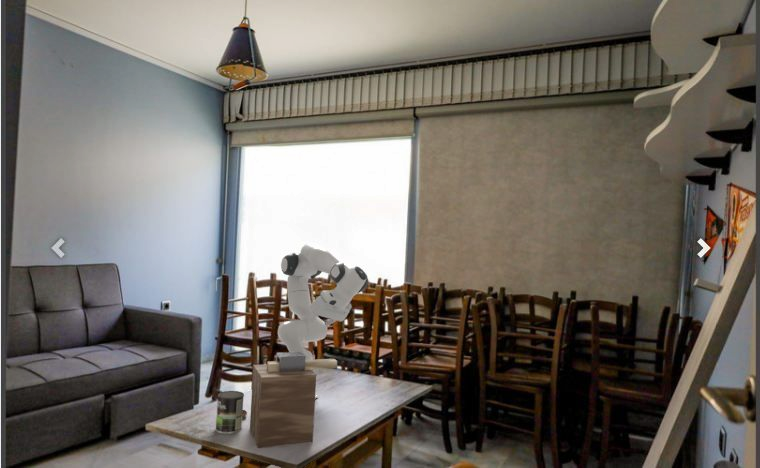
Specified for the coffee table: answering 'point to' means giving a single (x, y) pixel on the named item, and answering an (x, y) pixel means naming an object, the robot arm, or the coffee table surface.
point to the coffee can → (229, 412)
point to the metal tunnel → (291, 361)
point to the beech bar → (307, 364)
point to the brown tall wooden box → (282, 407)
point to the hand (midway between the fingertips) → (319, 323)
